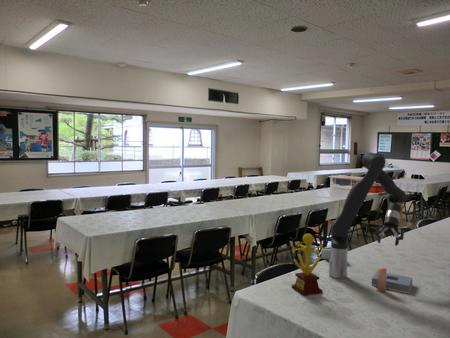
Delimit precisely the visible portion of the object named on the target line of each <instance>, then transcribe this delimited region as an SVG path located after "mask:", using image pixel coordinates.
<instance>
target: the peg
mask: <svg viewBox="0 0 450 338" xmlns="http://www.w3.org/2000/svg"><path fill="white" fill-rule="evenodd" d="M387 270H388V269H387V268H386V267H381V266H380V267H378V268H377V271H378V287H377V286H376V287H377V292H378V293H386V291H387V289H386V273H387Z"/></svg>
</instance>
